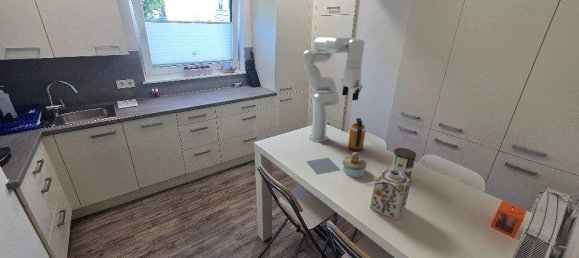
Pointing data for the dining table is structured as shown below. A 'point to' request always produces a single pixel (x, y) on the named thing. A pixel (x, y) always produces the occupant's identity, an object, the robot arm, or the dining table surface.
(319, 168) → the mat
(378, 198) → the decorative jar
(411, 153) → the coffee can
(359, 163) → the lid
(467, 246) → the dining table surface
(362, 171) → the bowl
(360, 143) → the canister
